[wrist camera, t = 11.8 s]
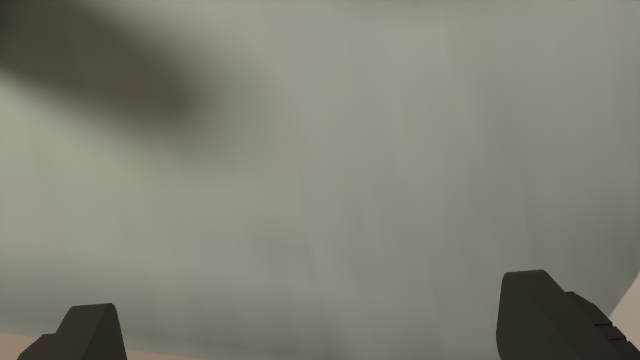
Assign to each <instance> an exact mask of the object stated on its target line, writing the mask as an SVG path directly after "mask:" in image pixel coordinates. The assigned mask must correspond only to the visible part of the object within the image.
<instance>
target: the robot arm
mask: <svg viewBox="0 0 640 360" xmlns="http://www.w3.org/2000/svg"><path fill="white" fill-rule="evenodd" d="M496 341H497V348H498V352H499V355H500V358H501V360H640V351H639V350H637V348H636V347H635V346H634V345H633V344H632V343H631V342H630V341H628V342H627V340H626V337H625V336H624V335H623V334H622V333H621V331H620V330H619V329H618V328H617V327H616V326H615V327H613V325H612V322H611V321H610V320H609V319H608V318H607V317H606V316H605V315H604V314H603V312H602V311H601V310H600V309H599V308H598V307H597V306H596V305H594V304H592V303H591V302H589V301H587V300H586V299H584V298H582V297H581V296H579V295H577V294H576V293H574V292H572V291H571V292H564V291H563V290H562V289H561V288H560V286H559V285H558V284H557V283H556V282H555V281H554V280H553V279H552V277H551V276H550V275H549V274H548V273H547V272H546V271H544V270H530V271H518V272H507V273H505V275H504V277H503V279H502V286H501V294H500V303H499V312H498V321H497V330H496ZM17 360H127V357H126V352H125V347H124V342H123V338H122V333H121V329H120V324H119V319H118V315H117V311H116V308H115V306H114V305H113V304H112V303H106V304H94V305H81V306H73V307H71V308H70V309H69V311H68V312H67V314H66V316H65V317H64V319H63V321H62V323H61V324H60V326H59V328H58V330H57V331H56V333H55V334H43V335H42V336H41V337H40V338H38V339H37V340H36V341H35V342H34V343H33V344H31V345H30V346H29V347H28V348H27V349H25V350H24V352H22V353H21V354H20V355H19V357H18V359H17Z"/></svg>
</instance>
